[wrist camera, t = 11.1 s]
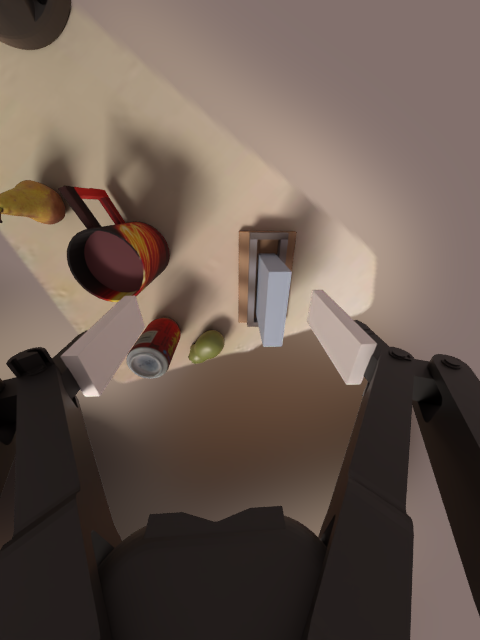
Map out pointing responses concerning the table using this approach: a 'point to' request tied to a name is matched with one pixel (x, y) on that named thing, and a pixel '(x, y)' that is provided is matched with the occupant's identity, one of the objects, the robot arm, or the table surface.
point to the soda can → (154, 349)
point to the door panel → (272, 298)
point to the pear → (206, 346)
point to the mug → (112, 250)
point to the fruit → (33, 202)
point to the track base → (248, 265)
